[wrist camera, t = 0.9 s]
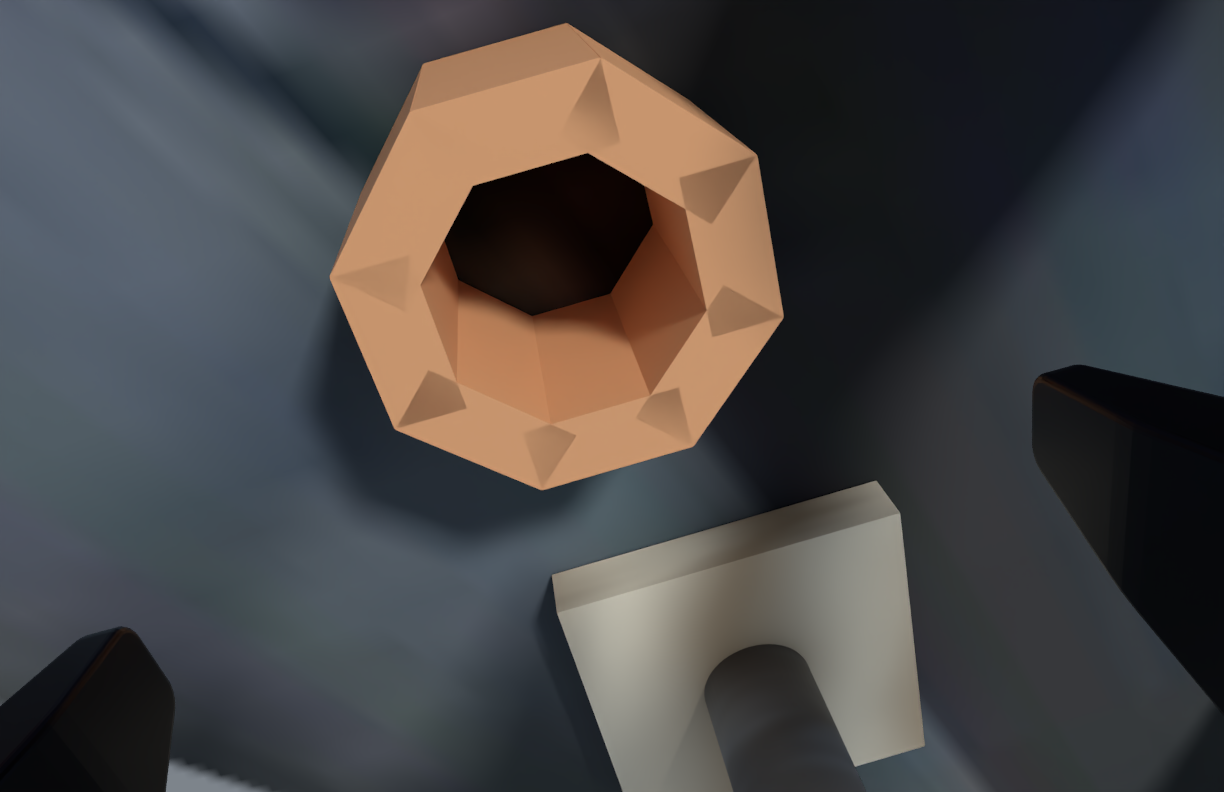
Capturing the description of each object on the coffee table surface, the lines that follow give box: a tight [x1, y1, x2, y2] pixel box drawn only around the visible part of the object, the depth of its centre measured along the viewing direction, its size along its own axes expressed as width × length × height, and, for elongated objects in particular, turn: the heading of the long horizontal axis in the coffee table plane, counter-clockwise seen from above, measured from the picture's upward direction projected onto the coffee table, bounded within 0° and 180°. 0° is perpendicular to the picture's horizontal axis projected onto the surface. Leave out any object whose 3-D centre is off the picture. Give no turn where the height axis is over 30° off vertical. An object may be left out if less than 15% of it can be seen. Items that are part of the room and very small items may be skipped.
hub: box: [330, 23, 784, 490], centre depth 17 cm, size 7×7×5 cm
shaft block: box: [552, 481, 925, 792], centre depth 23 cm, size 9×9×6 cm
